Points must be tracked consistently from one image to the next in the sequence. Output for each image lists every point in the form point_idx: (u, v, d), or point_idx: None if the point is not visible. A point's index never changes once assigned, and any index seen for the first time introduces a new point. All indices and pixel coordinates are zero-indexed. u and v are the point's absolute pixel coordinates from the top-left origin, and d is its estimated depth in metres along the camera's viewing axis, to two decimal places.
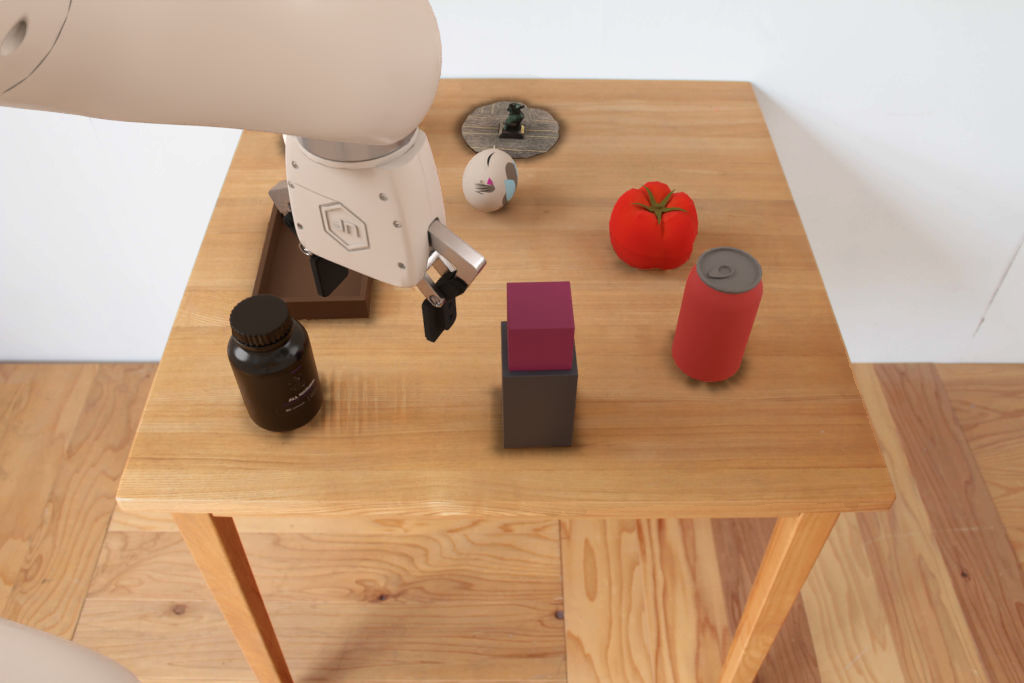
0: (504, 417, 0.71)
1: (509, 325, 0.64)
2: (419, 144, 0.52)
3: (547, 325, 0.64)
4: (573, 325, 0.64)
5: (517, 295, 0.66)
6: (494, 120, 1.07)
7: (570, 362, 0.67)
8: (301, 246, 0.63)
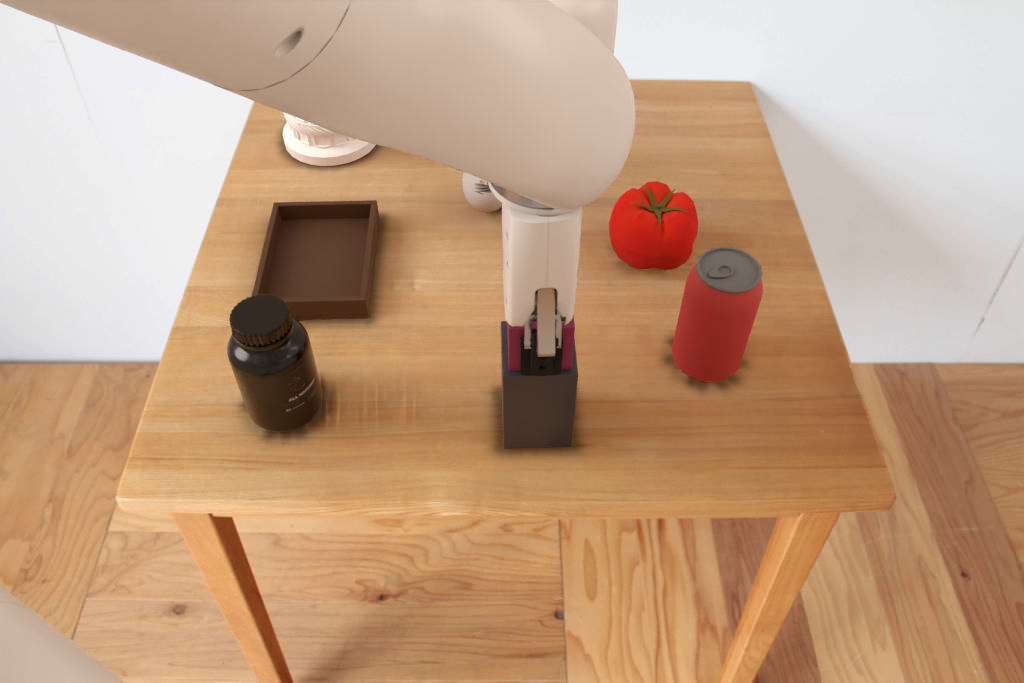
0: (504, 417, 0.71)
1: (509, 325, 0.64)
2: (559, 218, 0.54)
3: None
4: (573, 325, 0.64)
5: None
6: None
7: (570, 362, 0.67)
8: None
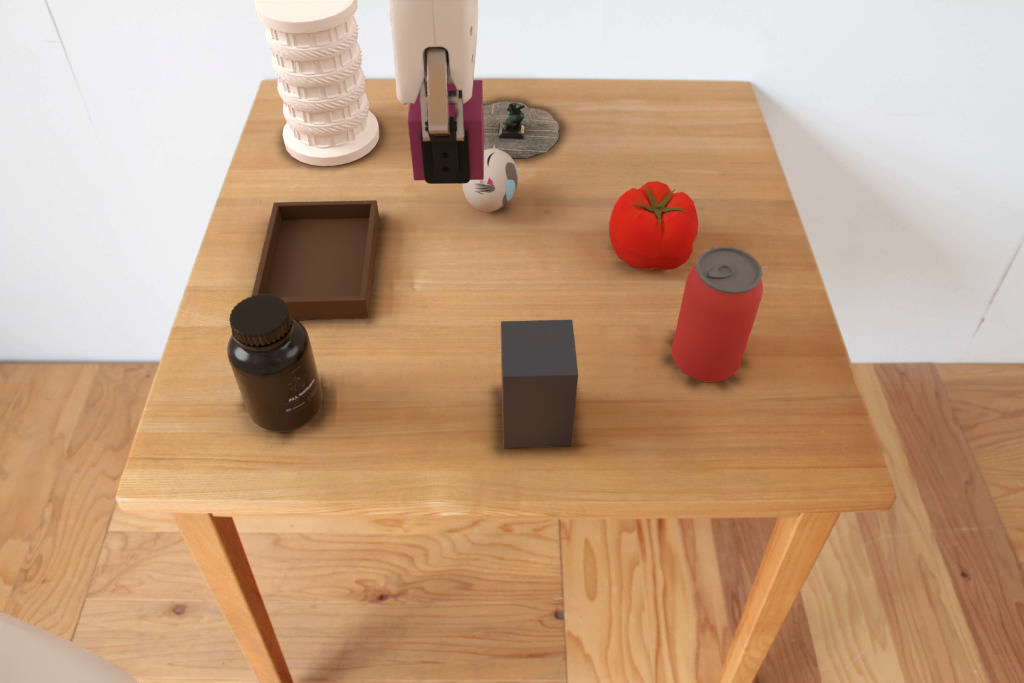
0: (504, 417, 0.71)
1: (409, 117, 0.57)
2: None
3: None
4: (480, 118, 0.57)
5: None
6: (494, 120, 1.07)
7: (481, 169, 0.60)
8: None
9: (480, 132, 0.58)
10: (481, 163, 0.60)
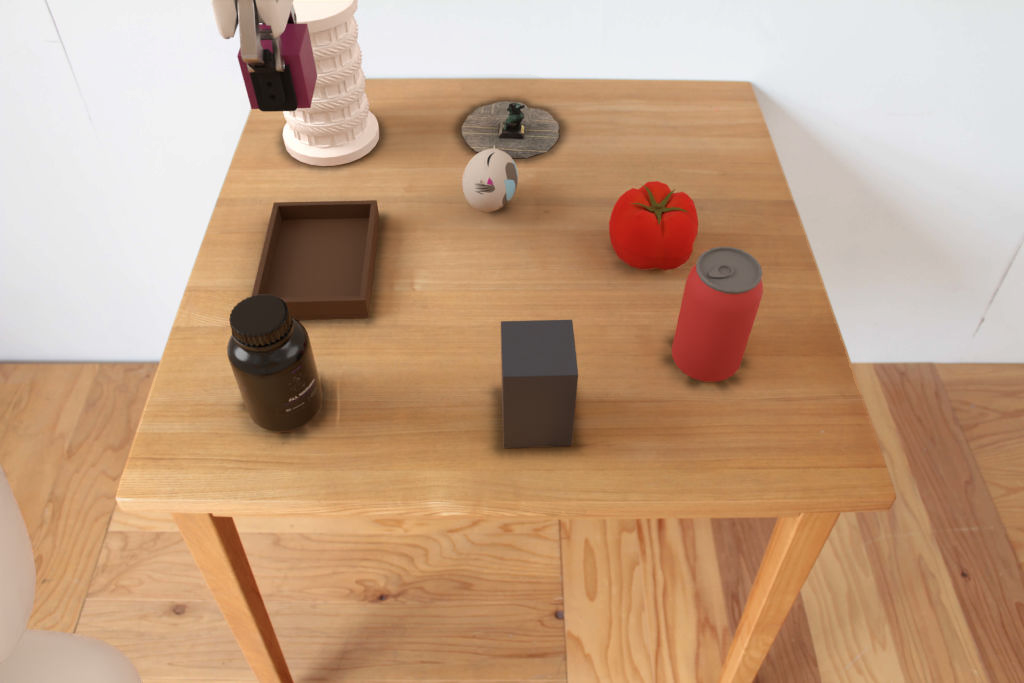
0: (504, 417, 0.71)
1: (238, 53, 0.69)
2: None
3: None
4: (298, 53, 0.69)
5: None
6: (494, 120, 1.07)
7: (306, 98, 0.71)
8: None
9: (300, 65, 0.69)
10: (305, 93, 0.71)
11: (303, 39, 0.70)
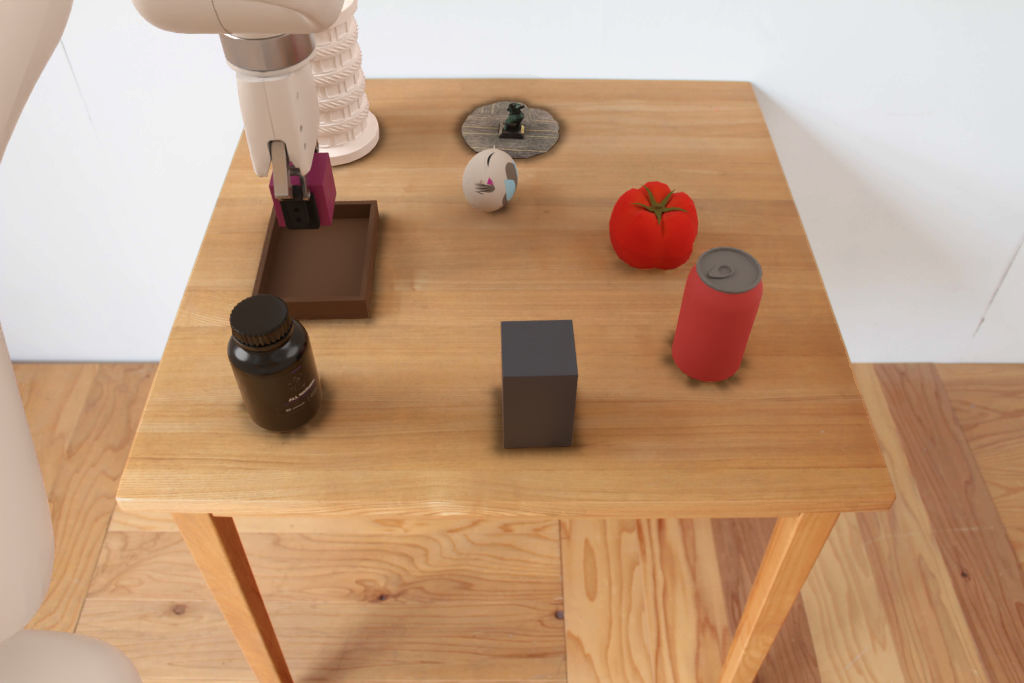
0: (504, 417, 0.71)
1: (270, 183, 0.79)
2: (273, 79, 0.69)
3: None
4: (321, 183, 0.79)
5: None
6: (494, 120, 1.07)
7: (328, 218, 0.82)
8: None
9: (323, 193, 0.79)
10: (327, 214, 0.81)
11: (325, 168, 0.80)
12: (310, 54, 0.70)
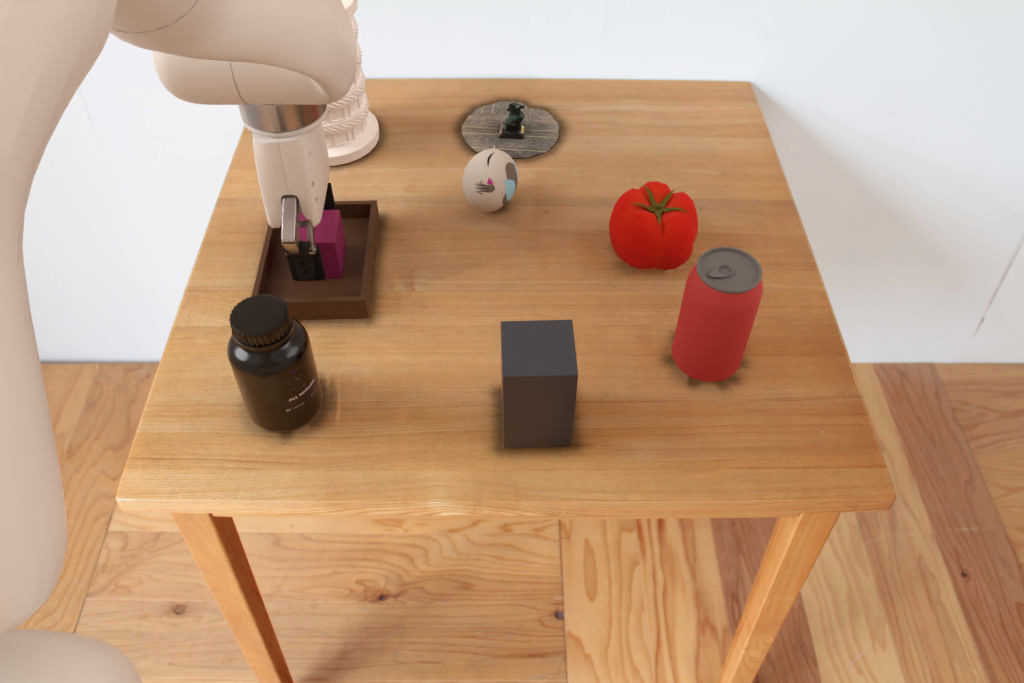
0: (504, 417, 0.71)
1: None
2: (287, 139, 0.73)
3: None
4: (333, 240, 0.84)
5: None
6: (494, 120, 1.07)
7: (339, 271, 0.87)
8: None
9: (335, 249, 0.85)
10: (338, 268, 0.87)
11: (337, 226, 0.86)
12: (322, 115, 0.74)
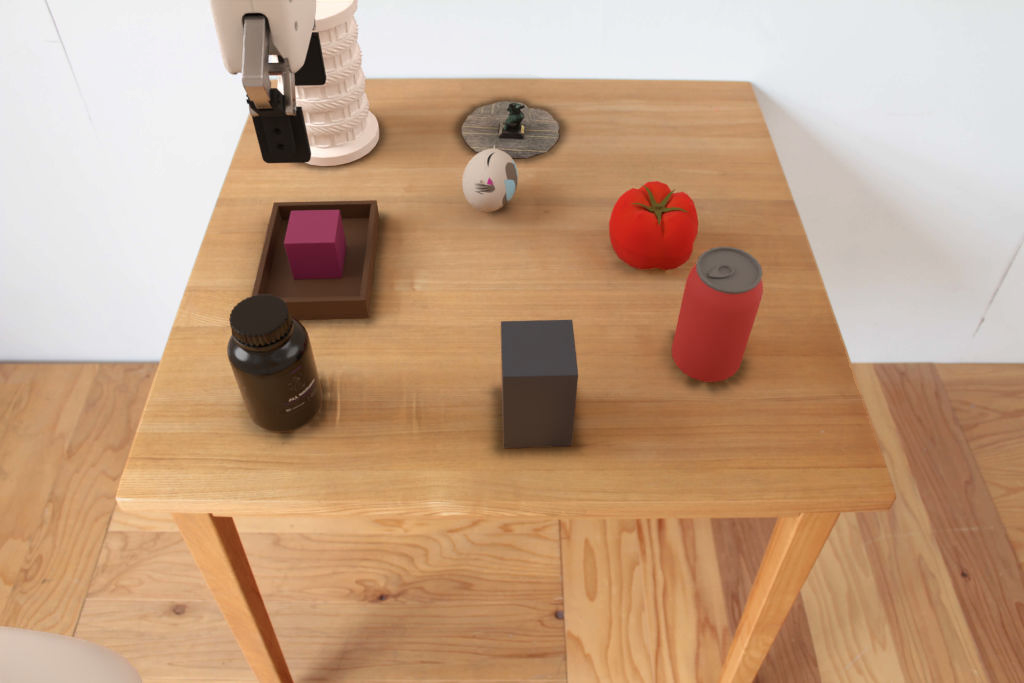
0: (504, 417, 0.71)
1: (285, 240, 0.84)
2: None
3: (313, 240, 0.84)
4: (333, 240, 0.84)
5: (296, 219, 0.86)
6: (494, 120, 1.07)
7: (339, 271, 0.87)
8: None
9: (335, 249, 0.85)
10: (338, 268, 0.87)
11: (337, 226, 0.86)
12: None
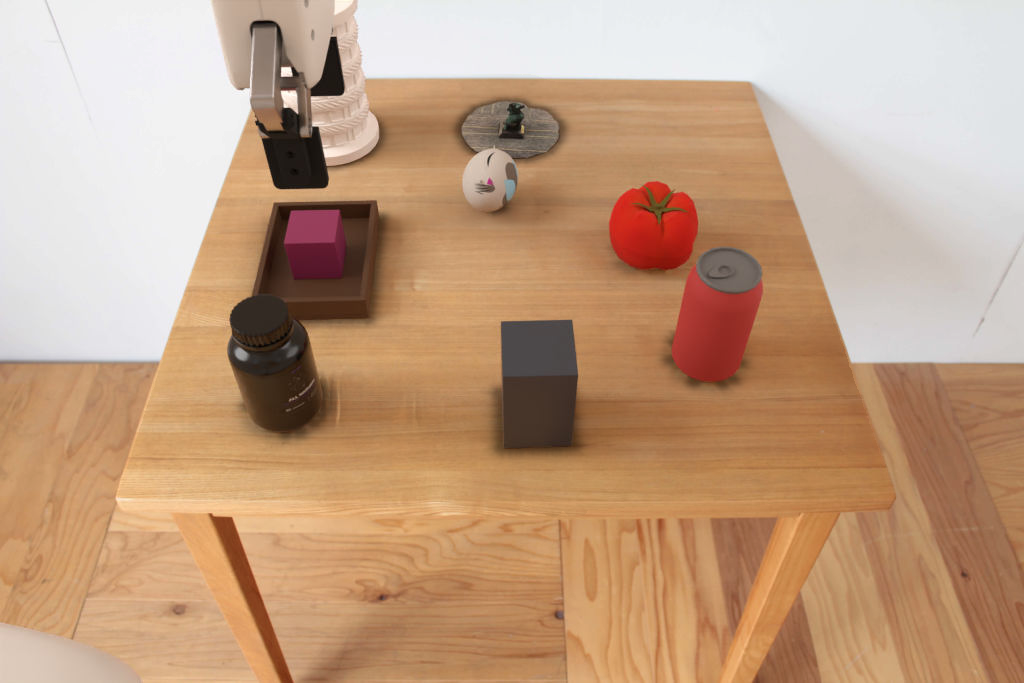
0: (504, 417, 0.71)
1: (285, 240, 0.84)
2: None
3: (313, 240, 0.84)
4: (333, 240, 0.84)
5: (296, 219, 0.86)
6: (494, 120, 1.07)
7: (339, 271, 0.87)
8: None
9: (335, 249, 0.85)
10: (338, 268, 0.87)
11: (337, 226, 0.86)
12: None
